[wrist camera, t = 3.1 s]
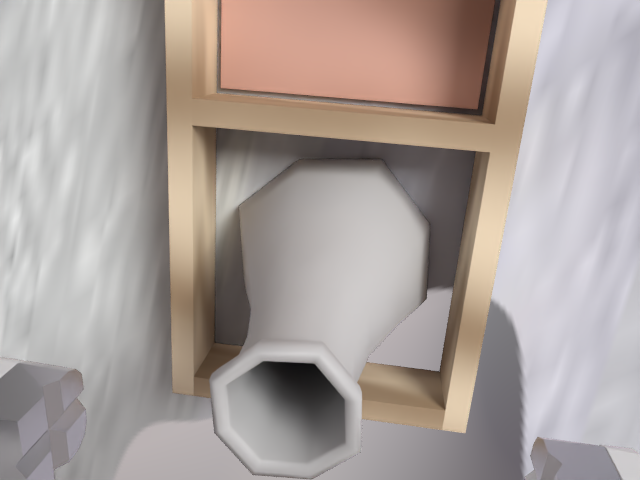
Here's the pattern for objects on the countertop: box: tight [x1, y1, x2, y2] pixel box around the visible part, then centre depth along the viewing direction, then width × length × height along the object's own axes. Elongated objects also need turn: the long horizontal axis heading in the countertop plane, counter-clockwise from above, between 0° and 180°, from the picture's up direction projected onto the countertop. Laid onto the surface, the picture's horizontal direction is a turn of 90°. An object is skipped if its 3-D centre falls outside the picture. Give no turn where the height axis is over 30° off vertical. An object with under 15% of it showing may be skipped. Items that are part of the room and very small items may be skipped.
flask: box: [209, 159, 430, 479], centre depth 16 cm, size 7×7×10 cm
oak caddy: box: [165, 0, 548, 433], centre depth 18 cm, size 20×11×2 cm, turn 176°
